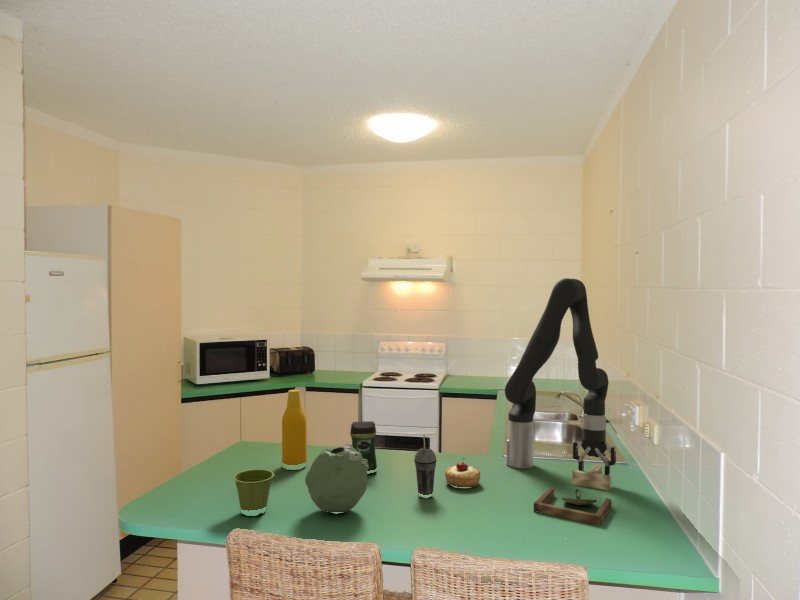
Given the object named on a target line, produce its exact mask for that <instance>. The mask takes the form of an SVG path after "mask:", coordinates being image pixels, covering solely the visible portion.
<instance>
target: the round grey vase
mask: <svg viewBox="0 0 800 600" xmlns="http://www.w3.org/2000/svg"><path fill="white" fill-rule="evenodd" d="M368 469H369V466H368V460H367V459H364V458H362V454H361V453H360V451H357V450H356V449H354V448H353V445H352V443H346V444H345V445H343V446H342V445H341V446H337V447H331V448H328V447H325V449H324V450H323V451H321V452H320V453H319V454H318V455H317V456H316V458H315V459H314V460H313V461H312V464H311V465H310V468H309V470H308V472H307V473H306V476H305V478H304V480H305V481H304V483H305V485H306V487H307V490H308V494H309V496H310V499H311V501H312V503H314V505H315V506H317V508H318V509H320V510H321V511H323V512H325V511H328V512H345V513H347V512H349V511H351V510H352V509H353V508H355V507H356V506H357V504H358V503H359V501H360V500H361V498H363V496H364V494H365V493H366V491H367V487H368V475H367V471H368ZM350 509H351V510H350ZM348 510H349V511H348ZM346 511H347V512H346ZM328 512H327V513H328Z"/></svg>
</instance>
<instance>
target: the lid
mask: <svg viewBox="0 0 800 600" xmlns="http://www.w3.org/2000/svg"><path fill="white" fill-rule="evenodd" d="M578 492H579V494H580V495H579V496H578V495H577V493H578ZM575 497H576V498H572V497H560V500H562V501H564V502H565V503H569V504H572V505H576V506H585V505H590V504H593V503H597V502H598V499H591V498H590V499H589V498H581V491H580V489H577V488H576V489H575Z"/></svg>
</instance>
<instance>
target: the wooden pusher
mask: <svg viewBox="0 0 800 600" xmlns="http://www.w3.org/2000/svg"><path fill="white" fill-rule="evenodd" d="M611 480H612V479H611V475H610V474H609V475H605V474H603V465H602V464H598V463H596V464H594V465H593V466H592V467H591V468H590V470H589V471H585V470H584V471H579V469H573V470H572V485H577V486H580V487H581V486H582V487H587V488H593V489H597V488H598V489H599V490H604V491H608V490H609V491H610V490H611V489H612V488H611V484H612V483H611V482H612V481H611ZM598 489H597V490H598Z"/></svg>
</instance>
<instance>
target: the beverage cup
mask: <svg viewBox="0 0 800 600" xmlns="http://www.w3.org/2000/svg"><path fill="white" fill-rule="evenodd" d="M422 438H423V440H422V441H423V447H421V448H420V449H418V450H417V452H416V453H415V455H414V460H413V461H414V466H415V471H416V482H417V493H420V494H423V495H429V494H432V493H434V484H435V471H436V465H437V457H436V456H437V455H436V453H435V451H433V449H432V448H430V447H426V436H425V434H423V437H422Z"/></svg>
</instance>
